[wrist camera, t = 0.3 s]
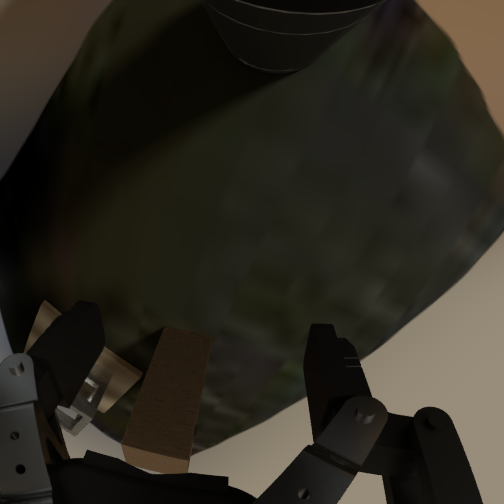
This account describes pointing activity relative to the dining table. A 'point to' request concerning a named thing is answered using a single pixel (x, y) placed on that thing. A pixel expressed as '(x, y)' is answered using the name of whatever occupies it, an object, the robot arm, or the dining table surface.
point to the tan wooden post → (168, 404)
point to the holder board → (117, 366)
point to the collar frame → (86, 401)
